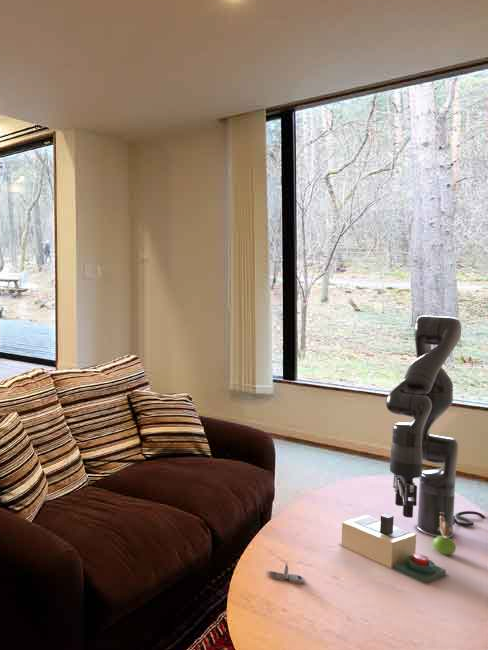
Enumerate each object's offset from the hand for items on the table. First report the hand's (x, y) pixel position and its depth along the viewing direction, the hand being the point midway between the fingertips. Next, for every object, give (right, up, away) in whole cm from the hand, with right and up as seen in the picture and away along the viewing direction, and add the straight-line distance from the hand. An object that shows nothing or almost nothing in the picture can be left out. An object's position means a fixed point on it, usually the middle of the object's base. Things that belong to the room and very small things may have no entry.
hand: (403, 510), depth 162 cm
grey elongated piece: (-38, -18, -4) cm, 42 cm away
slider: (-2, -9, +4) cm, 10 cm away
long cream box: (-1, -16, +9) cm, 19 cm away
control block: (+3, -17, -3) cm, 18 cm away
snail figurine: (+19, -16, +8) cm, 26 cm away
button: (+3, -14, -3) cm, 15 cm away
